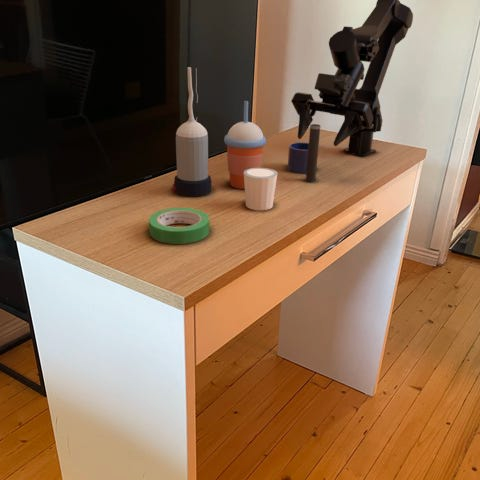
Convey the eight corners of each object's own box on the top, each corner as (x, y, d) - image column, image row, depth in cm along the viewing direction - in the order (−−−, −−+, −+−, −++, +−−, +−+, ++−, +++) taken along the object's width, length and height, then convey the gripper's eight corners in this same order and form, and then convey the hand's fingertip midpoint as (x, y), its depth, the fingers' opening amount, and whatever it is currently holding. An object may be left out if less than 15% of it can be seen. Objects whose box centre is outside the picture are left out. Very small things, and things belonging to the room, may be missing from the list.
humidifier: (166, 190, 126) (160, 66, 113) (193, 181, 131) (191, 62, 118) (191, 199, 122) (189, 72, 108) (219, 190, 127) (219, 67, 113)
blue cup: (299, 162, 145) (301, 140, 142) (321, 169, 141) (323, 146, 139) (282, 168, 141) (283, 145, 138) (303, 175, 137) (305, 151, 134)
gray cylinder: (309, 178, 135) (314, 123, 129) (317, 180, 134) (322, 125, 127) (303, 180, 134) (308, 125, 127) (311, 182, 132) (316, 127, 126)
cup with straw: (265, 179, 134) (269, 97, 124) (262, 192, 126) (266, 106, 117) (226, 177, 135) (227, 96, 125) (221, 190, 127) (221, 104, 117)
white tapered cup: (279, 202, 122) (281, 169, 118) (270, 213, 116) (272, 179, 112) (248, 197, 123) (249, 165, 120) (238, 208, 118) (238, 175, 114)
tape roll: (159, 248, 101) (158, 234, 100) (142, 225, 110) (141, 211, 108) (218, 239, 105) (218, 225, 103) (197, 217, 113) (197, 204, 112)
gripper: (298, 54, 129) (269, 113, 128) (375, 62, 120) (345, 126, 118) (312, 86, 139) (285, 142, 137) (385, 97, 130) (357, 156, 128)
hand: (316, 141), depth 130 cm, fingers open, 9 cm apart
